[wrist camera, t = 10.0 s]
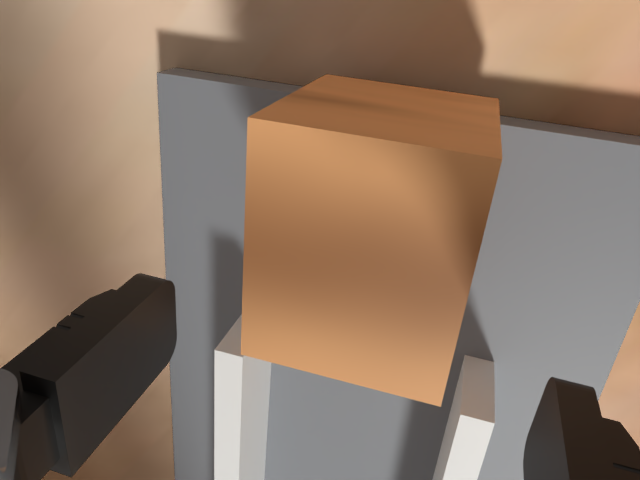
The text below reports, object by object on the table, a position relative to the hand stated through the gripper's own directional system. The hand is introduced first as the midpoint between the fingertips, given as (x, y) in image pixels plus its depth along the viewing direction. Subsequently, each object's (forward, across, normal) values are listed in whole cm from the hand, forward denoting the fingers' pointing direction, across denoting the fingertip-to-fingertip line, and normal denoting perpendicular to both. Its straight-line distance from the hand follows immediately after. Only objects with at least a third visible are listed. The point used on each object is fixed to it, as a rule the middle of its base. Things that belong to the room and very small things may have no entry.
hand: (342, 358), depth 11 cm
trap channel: (+8, 0, +8) cm, 12 cm away
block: (+7, 0, -1) cm, 7 cm away
